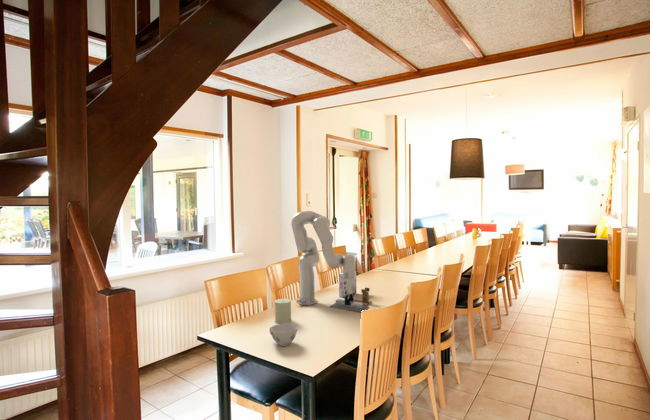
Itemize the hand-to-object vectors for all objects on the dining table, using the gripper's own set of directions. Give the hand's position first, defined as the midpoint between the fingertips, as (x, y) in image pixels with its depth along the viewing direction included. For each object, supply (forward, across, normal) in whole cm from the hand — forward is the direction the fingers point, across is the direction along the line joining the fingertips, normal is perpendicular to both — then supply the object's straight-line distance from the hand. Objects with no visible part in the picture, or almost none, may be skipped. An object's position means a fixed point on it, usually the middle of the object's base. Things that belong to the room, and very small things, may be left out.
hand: (349, 303), depth 226 cm
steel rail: (+2, 0, 0) cm, 2 cm away
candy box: (+3, +23, +14) cm, 27 cm away
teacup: (+3, -64, +2) cm, 64 cm away
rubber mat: (+2, 0, 0) cm, 2 cm away
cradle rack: (+2, +11, 0) cm, 11 cm away
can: (+3, -40, +20) cm, 45 cm away
